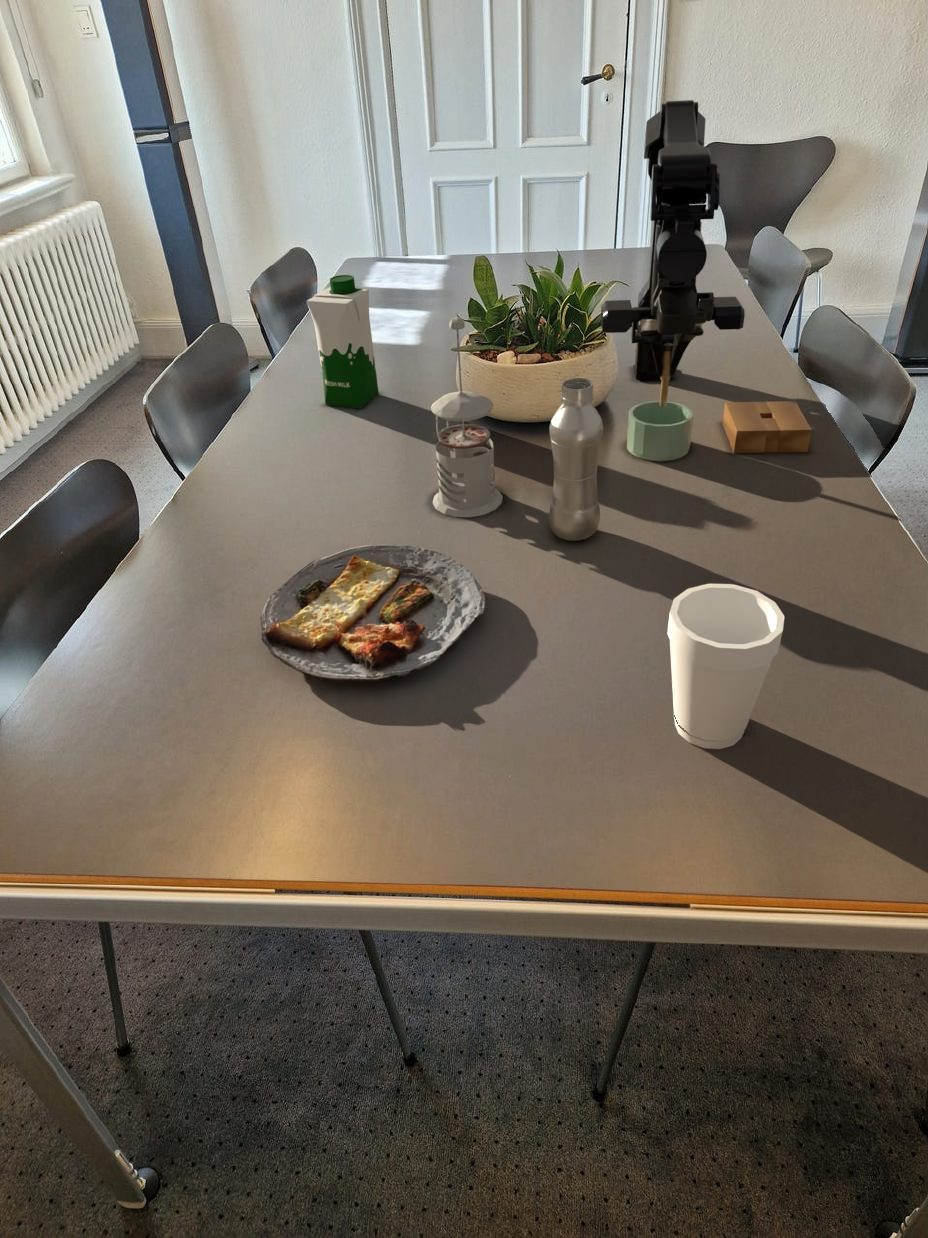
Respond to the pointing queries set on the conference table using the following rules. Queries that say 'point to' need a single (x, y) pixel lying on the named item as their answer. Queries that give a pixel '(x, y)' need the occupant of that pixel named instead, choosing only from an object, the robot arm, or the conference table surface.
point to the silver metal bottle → (575, 462)
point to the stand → (766, 427)
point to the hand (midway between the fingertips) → (665, 375)
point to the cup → (659, 430)
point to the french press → (464, 452)
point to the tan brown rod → (665, 372)
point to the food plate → (370, 613)
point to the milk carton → (345, 343)
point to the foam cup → (720, 659)
